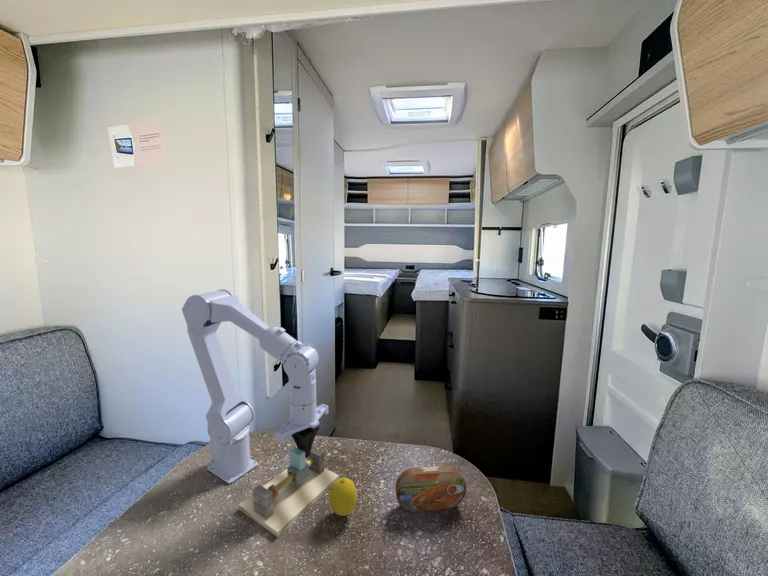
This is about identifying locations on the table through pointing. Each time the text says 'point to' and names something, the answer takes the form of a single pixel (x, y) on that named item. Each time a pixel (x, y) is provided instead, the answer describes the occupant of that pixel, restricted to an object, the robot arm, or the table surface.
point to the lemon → (343, 496)
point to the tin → (430, 488)
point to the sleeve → (298, 466)
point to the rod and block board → (288, 496)
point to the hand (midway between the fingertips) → (304, 455)
